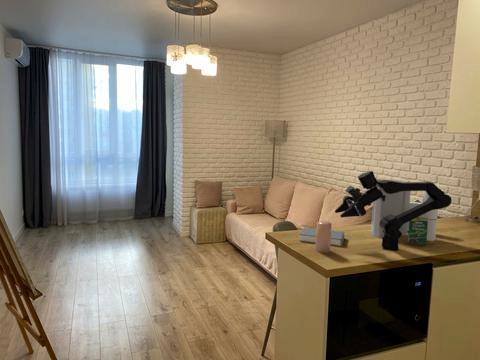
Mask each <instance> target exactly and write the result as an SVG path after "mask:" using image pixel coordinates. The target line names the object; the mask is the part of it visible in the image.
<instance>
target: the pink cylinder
mask: <svg viewBox="0 0 480 360" xmlns="http://www.w3.org/2000/svg"><path fill="white" fill-rule="evenodd" d="M332 224H333V223H332V222H330V221H325V220H319V221H316V228H315V229H316V243H314V244H315V245H314V247H315V252H318V253H323V254H327V253H330V252H331V245H330V243H331V230H332Z"/></svg>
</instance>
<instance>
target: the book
mask: <svg viewBox="0 0 480 360" xmlns="http://www.w3.org/2000/svg"><path fill="white" fill-rule="evenodd" d="M298 235H299V236H298V241H299V242H307V243H314V244H316V228H313V227H303V228H302V230H301V231H300V232H299V234H298ZM344 240H345V231H340V230H332V229H331V243H330V246H338V247H343V244H344Z"/></svg>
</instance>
